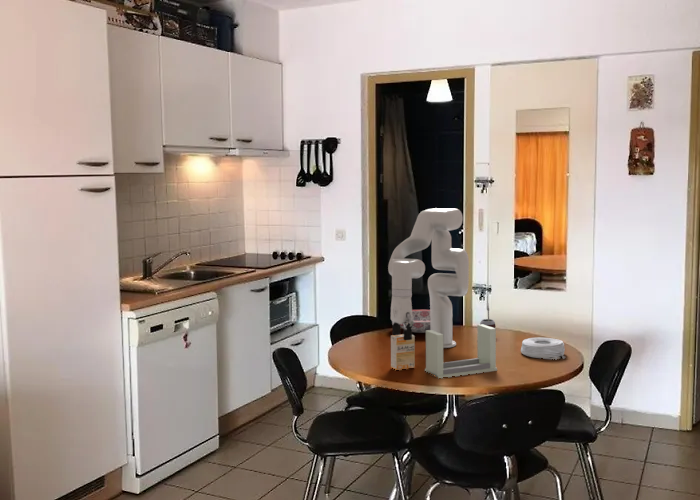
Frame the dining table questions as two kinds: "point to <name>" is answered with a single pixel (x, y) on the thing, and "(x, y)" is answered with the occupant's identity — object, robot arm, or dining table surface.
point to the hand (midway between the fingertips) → (402, 337)
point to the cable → (543, 348)
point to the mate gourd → (488, 320)
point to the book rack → (461, 367)
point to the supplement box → (402, 352)
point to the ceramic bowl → (420, 321)
